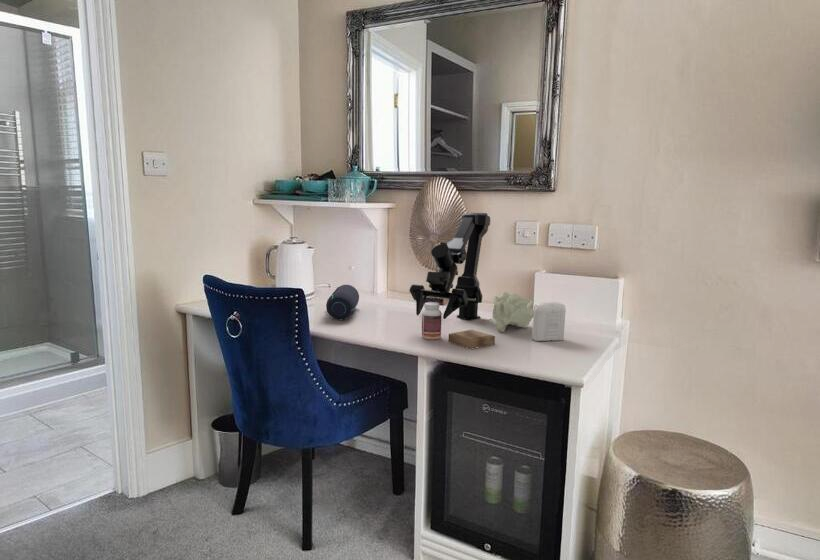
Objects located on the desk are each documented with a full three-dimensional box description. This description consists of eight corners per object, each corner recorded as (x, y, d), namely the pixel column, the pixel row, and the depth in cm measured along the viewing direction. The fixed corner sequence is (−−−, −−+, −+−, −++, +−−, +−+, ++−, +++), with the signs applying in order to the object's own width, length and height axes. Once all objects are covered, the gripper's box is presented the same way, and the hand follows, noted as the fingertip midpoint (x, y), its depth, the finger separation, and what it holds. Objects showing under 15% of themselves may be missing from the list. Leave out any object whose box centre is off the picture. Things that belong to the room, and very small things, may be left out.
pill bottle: (444, 338, 178) (445, 304, 176) (428, 341, 174) (429, 306, 172) (433, 334, 183) (434, 300, 181) (417, 336, 179) (418, 302, 178)
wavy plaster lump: (507, 342, 200) (511, 301, 205) (538, 340, 190) (542, 297, 195) (475, 329, 188) (480, 285, 193) (507, 326, 179) (511, 280, 184)
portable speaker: (334, 307, 222) (334, 282, 220) (360, 308, 222) (360, 283, 220) (324, 322, 197) (324, 294, 195) (352, 322, 197) (353, 294, 195)
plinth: (471, 337, 180) (471, 328, 179) (494, 344, 172) (494, 335, 172) (448, 341, 174) (448, 333, 173) (471, 349, 166) (471, 340, 165)
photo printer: (559, 337, 182) (561, 299, 180) (565, 340, 178) (568, 302, 176) (529, 338, 179) (531, 300, 177) (535, 342, 175) (537, 303, 173)
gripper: (412, 259, 183) (395, 298, 175) (466, 264, 174) (451, 304, 166) (422, 280, 191) (406, 318, 183) (474, 285, 183) (460, 325, 175)
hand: (430, 316), depth 176 cm, fingers open, 9 cm apart
